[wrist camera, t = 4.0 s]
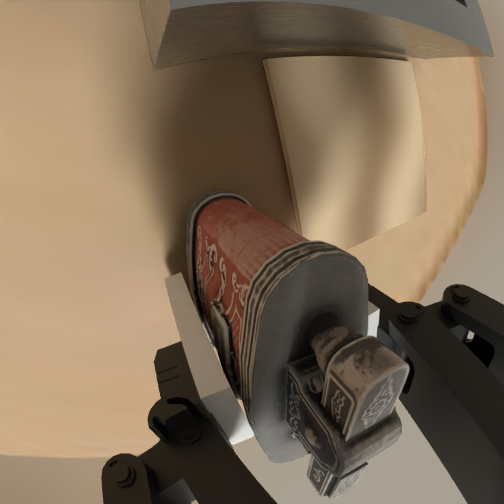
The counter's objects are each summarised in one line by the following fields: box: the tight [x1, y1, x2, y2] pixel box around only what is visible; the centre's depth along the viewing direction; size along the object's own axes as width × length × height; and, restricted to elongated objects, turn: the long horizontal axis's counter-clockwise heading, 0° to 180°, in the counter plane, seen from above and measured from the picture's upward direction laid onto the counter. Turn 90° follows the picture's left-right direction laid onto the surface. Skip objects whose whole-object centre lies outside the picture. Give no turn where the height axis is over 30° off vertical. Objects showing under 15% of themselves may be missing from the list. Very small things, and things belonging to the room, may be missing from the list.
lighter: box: [186, 190, 410, 500], centre depth 9 cm, size 8×3×10 cm, turn 4°
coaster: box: [262, 56, 426, 251], centre depth 14 cm, size 10×10×1 cm
